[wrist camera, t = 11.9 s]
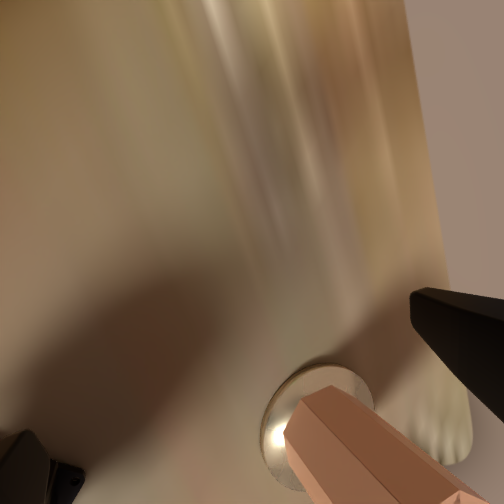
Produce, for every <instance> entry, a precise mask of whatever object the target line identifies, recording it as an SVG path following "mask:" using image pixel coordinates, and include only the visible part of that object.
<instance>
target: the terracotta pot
mask: <svg viewBox="0 0 504 504" xmlns="http://www.w3.org/2000/svg"><path fill="white" fill-rule="evenodd" d="M283 438H284V443H285V448H286V453H287V457H288V462H289V465H290V466H291V468H292V470H293V471H294V473H295V474H296V476H297V477H298V479H299V480H300V482H301V483H302V485H303V486H304V488H305V489H306V491H307V493H308V494H309V496H310V497H311V499H312V500H313V502H314V503H315V504H490V503H489V502H487V501H486V500H485V499H484V498H482V497H481V496H480V495H479V494H477V493H476V492H475V491H473V490H472V489H471V488H470V487H468V486H467V485H466V484H465V483H463V482H462V481H461V480H460V479H458V478H457V477H456V476H454V475H453V474H452V473H450V472H449V471H448V470H447V469H446V468H444V467H443V466H442V465H440V464H439V463H438V462H437V461H435V460H434V459H433V458H432V457H430V456H429V455H428V454H427V453H425V452H424V451H423V450H421V449H420V448H419V447H418V446H416V445H415V444H414V443H413V442H411V441H410V440H409V439H408V438H406V437H405V436H404V435H402V434H401V433H400V432H399V431H397V430H396V429H395V428H394V427H392V426H391V425H390V424H389V423H387V422H386V421H385V420H383V419H382V418H381V417H380V416H378V415H377V414H376V413H375V412H373V411H372V410H371V409H369V408H368V407H367V406H366V405H364V404H363V403H362V402H361V401H359V400H358V399H357V398H356V397H354V396H352V395H350V394H348V393H346V392H344V391H342V390H340V389H338V388H337V387H335V386H333V385H330V386H328V387H325V388H323V389H321V390H319V391H317V392H314V393H312V394H310V395H308V396H306V397H303V398H301V399H300V401H299V403H298V405H297V406H296V408H295V410H294V412H293V414H292V416H291V417H290V419H289V421H288V423H287V425H286V427H285V429H284V430H283Z"/></svg>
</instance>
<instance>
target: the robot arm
mask: <svg viewBox="0 0 504 504" xmlns="http://www.w3.org/2000/svg"><path fill="white" fill-rule="evenodd" d="M409 299H410V319H411V323H412V326H413V327H414V329H415V330H416V331H417V333H418V334H419V335H420V336H421V337H422V338H423V340H424V341H425V342H426V343H427V344H428V345H429V346H430V348H431V349H432V350H433V351H434V352H435V353H436V355H437V356H438V357H439V358H440V359H441V360H442V361H443V363H444V364H445V365H446V366H447V367H448V368H449V370H450V371H451V372H452V373H453V374H454V375H455V376H456V377H457V378H458V379H459V380H460V381H461V382H462V383H463V384H464V385H465V386H466V387H467V388H468V389H469V390H470V391H471V392H472V393H473V394H474V395H475V396H476V397H477V398H478V399H479V400H480V401H481V402H482V403H483V404H485V405H486V407H488V408H489V409H490V410H491V411H492V412H493V413H494V414H495V415H496V416H497V417H498V418H499V419H500V420H501V421H502V422H503V423H504V300H503V299H497V298H491V297H484V296H478V295H473V294H466V293H460V292H454V291H448V290H442V289H436V288H430V287H425V288H422V289H419V290H416V291H413V292H412V293H411V294H410V298H409ZM85 476H86V473H85V471H84V470H83V469H81V468H78V467H74V466H70V465H67V464H63V463H60V462H57V461H56V460H52V459H49V456H48V453H47V452H46V450H45V449H44V447H43V446H42V444H41V443H40V441H39V440H38V438H37V437H36V435H35V434H34V432H33V431H31V430H30V429H24V430H21V431H18V432H15V433H13V434H10V435H7V436H6V437H4V438H3V439H2V440H1V441H0V504H72V502H73V501H74V499H75V497H76V496H77V494H78V492H79V491H80V489H81V487H82V486H83V484H84V481H85ZM75 477H78V478H79V480H76V481H74V480H72V478H75Z"/></svg>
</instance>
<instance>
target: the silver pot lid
mask: <svg viewBox="0 0 504 504" xmlns="http://www.w3.org/2000/svg"><path fill="white" fill-rule="evenodd" d="M330 385H333V386H335V387H337V388H338V389H340V390H342V391H344V392H346V393H348V394H350V395H352V396H354V397H356V398H357V399H358V400H359V401H361V402H362V403H363V404H364V405H366V406H367V407H368V408H369V409H371V410H372V411H373V412H374V403H373V398H372V395H371V392H370V390H369V388H368V386H367V385H366V383H365V382H364V381H363V380H362V379H361V378H360V377H359V376H358V375H357V374H355V373H354V372H352V371H351V370H349V369H348V368H346V367H344V366H342V365H338V364H334V363H320V364H316V365H312V366H309V367H306V368H304V369H302V370H300V371H299V372H297V373H296V374H294V375H293V376H291V377H290V378H289V379H288V380H287V381H286V382H285V383H284V384H283V385H282V386H281V387H280V388H279V389H278V390H277V392H276V393H275V394H274V396H273V397H272V399H271V401H270V402H269V404H268V406H267V408H266V411H265V413H264V416H263V419H262V424H261V429H260V447H261V452H262V456H263V459H264V461H265V463H266V465H267V467H268V468H269V470H270V472H271V474H272V475H273V476H274V478H275V479H276V480H277V481H278V482H279V483H280V484H282V485H283V486H285V487H287V488H289V489H292V490H296V491H304V492H306V489H305V488H304V486H303V485H302V483H301V482H300V480H299V479H298V477H297V476H296V474H295V473H294V471H293V470H292V468H291V466H290V465H289V462H288V457H287V453H286V448H285V443H284V438H283V430H284V429H285V427H286V425H287V423H288V421H289V419H290V417H291V416H292V414H293V412H294V410H295V408H296V406H297V405H298V403H299V401H300V399H301V398H303V397H306V396H308V395H310V394H312V393H314V392H317V391H319V390H321V389H323V388H325V387H328V386H330Z"/></svg>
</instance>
